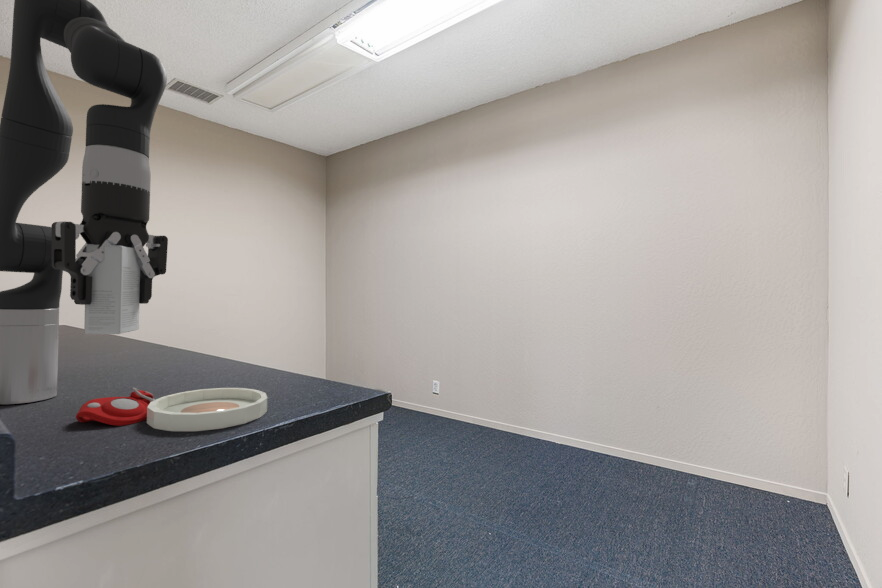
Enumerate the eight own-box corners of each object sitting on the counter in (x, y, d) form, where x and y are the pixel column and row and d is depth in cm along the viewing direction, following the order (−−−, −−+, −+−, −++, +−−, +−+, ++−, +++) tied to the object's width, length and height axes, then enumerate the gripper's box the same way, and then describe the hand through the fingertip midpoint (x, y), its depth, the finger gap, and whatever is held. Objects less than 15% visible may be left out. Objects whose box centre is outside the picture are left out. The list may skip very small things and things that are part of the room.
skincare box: (105, 330, 60) (108, 247, 60) (139, 330, 62) (142, 249, 62) (81, 334, 55) (84, 243, 55) (119, 334, 56) (122, 245, 56)
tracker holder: (153, 417, 68) (75, 410, 62) (145, 442, 68) (66, 437, 63) (160, 385, 78) (94, 376, 73) (153, 406, 78) (86, 399, 73)
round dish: (120, 422, 67) (121, 406, 67) (212, 397, 84) (213, 384, 84) (207, 437, 62) (208, 420, 62) (287, 407, 79) (287, 393, 79)
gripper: (147, 198, 66) (144, 302, 66) (36, 172, 52) (32, 303, 52) (183, 196, 64) (180, 304, 64) (77, 169, 50) (72, 306, 50)
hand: (113, 303), depth 58 cm, fingers closed on skincare box, 7 cm apart
